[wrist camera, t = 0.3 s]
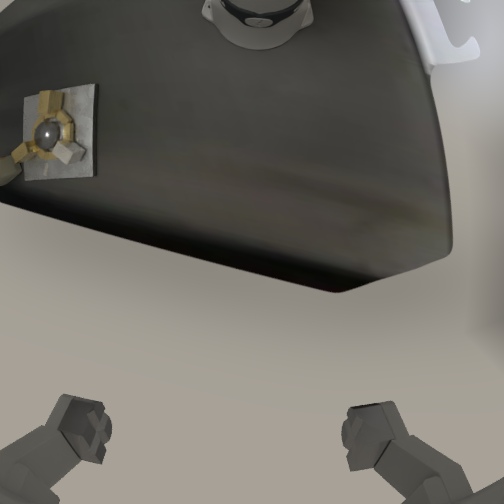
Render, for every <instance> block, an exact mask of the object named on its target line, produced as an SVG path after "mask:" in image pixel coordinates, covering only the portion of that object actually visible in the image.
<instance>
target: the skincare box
mask: <svg viewBox="0 0 504 504" xmlns="http://www.w3.org/2000/svg"><path fill="white" fill-rule="evenodd" d="M20 172H22V169H21V166H20V163H17V164H15V162H14V160H13V157H12V155H10V156H6V157H2V158H0V186H2V185H5V184H7V183H9V182H10V181H11V180H12V179H14V178H15V177H16V176H17V175H18V174H19V173H20Z"/></svg>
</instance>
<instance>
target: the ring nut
mask: <svg viewBox="0 0 504 504" xmlns="http://www.w3.org/2000/svg"><path fill="white" fill-rule="evenodd" d="M62 97H63V92H60V91H52V90H48V91H40V95H39V103H38V112H37V114H41V115H40V116H39V118H38V119H37V121H36V122H35V124H34V125H33V127H34V129H32V141H26V142H23V143H22V144H21V145H20V146H19V147H17V148H16V149H15V150H14V151H13V152H12V153H11V154H12V157H13V160H14V162H15V164H17V163H21V162H25V161H29V160H30V159H31V158H33V157H34V156H35V155H36V154H38V155H39V157H40V158H41V159H44V160H49V159H58V158H59V159H60V160H61V161H62V162H64V163H65V164H66V165H69V164H72V163H76V162H79V161H80V159H81V158H82V156H83V154H84V152H85V150H84V149H83V148H82V147H80V146H79V145H78V144H76V143H75V142H74V141H73V128H74V123H71V122H72V121H73V120H72V119H71V118H70V117H69V116H68V115H67V113H66V112H65V111H64V110H61V105H62ZM54 117H56V118H57V119H58V120H59V121H60V122H61V123H62V124H63V140H61V141H57V143H56V145H55V147H54V149H53V151H50V152H48V150H47V149H40V148H39V147H37V145H36V144H35V141H34V133H35V130H36V128H37V126H38V125H39V124H40V123H42V122H45V121H47V120H48V119H49V118H54Z"/></svg>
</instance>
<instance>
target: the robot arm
mask: <svg viewBox="0 0 504 504" xmlns="http://www.w3.org/2000/svg"><path fill="white" fill-rule="evenodd" d="M209 6H210V8H208V7H209ZM202 16H203V17H204V18H205V19H206V20H208V21H210V22H211V23H213V24H215V25H216V27H217V28H218V29H219V31H220V32H221V34H222V35H223V36H224V37H225V38H226V39H228V40H229V41H230V42H232V43H234V44H236V45H238V46H240V47H243V48H247V49H253V50H264V49H270V48H274V47H277V46H279V45H282V44H283V43H285V42H287V41H288V40H289V39H290V38H291V37H292V36H293V35H294V34H295V33H296V32H297V31H298V30H300V29H302V28H305V27H307V26H309V25H311V24H312V23H313V19H314V18H313V13H312V8H311V3H310V0H206V1H205V3H204V6H203V9H202ZM104 410H105V407H104V405H103V403H102V402H99V401H94V400H89V399H84V398H80V397H76V396H71V395H67V394H63V395H61V396H60V398H59V399H58V401H57V403H56V405H55V407H54V409H53V411H52V413H51V415H50V417H49V418H48V420H47V422H46V424H45V426H42V425H41V426H40V427H38V428H36V429H35V430H33V431H31V432H30V433H28V434H27V435H25V436H24V437H22V438H20V439H18V440H17V441H15V442H13V443H12V444H10V445H8V446H7V447H5V448H3V449H2V450H0V504H59V501H60V499H59V497H58V496H57V495H55V494H54V493H53V492H52V491H51V490H50V488H51V487H52V486H53V485H54V484H56V483H57V482H58V481H59V480H60V479H61V478H62V477H64V476H65V475H66V474H67V473H68V472H69V471H70V470H71V469H73V468H74V467H75V466H76V465H77V464H78V463H79V462H80V461H81V460H85V461H88V462H93V463H97V464H102V461H103V459H104V456H105V453H106V448H105V446H104V444H105V443H107V442H108V441H109V440H110V437H111V434H112V424H111V420H110V418H109V416H108V415H107V414H106V413H104ZM347 416H348V419H347V420H345V421H344V423H343V426H342V434H341V435H342V442H343V446H344V447H345V448H347V449H348V450H349V452H348V454H347V456H346V457H347V461H348V464H349V468H350V471H358V470H364V469H369V468H374V470H375V471H376V472H377V473H378V474H380V475H381V476H382V477H383V478H384V479H385V480H386V481H387V482H388V483H390V485H392V486H393V487H394V488H395V489H396V490H397V491H398V492H399V493H400V494H402V495H403V496H404V497H405V498H406V500H405V501H404V502H403V503H402V504H504V477H503V478H501V479H500V480H498V481H496V482H495V483H493V484H491V485H489V486H487V487H485V488H483V489H482V490H480V491H478V492H476V493H473V491H472V489H471V487H470V484H469V482H468V480H467V478H466V476H465V474H464V471H463V469H462V467H461V465H459V464H457V463H456V462H454V461H453V460H451V459H449V458H448V457H446V456H445V455H443V454H442V453H440V452H438V451H437V450H435V449H434V448H432V447H431V446H429V445H428V444H426V443H425V442H423V441H422V440H420V439H418V438H417V437H415V436H414V435H411V436H409V434H408V431H407V429H406V427H405V425H404V423H403V420H402V418H401V416H400V414H399V412H398V410H397V407H396V405H395V403H394V402H393V401H386V402H381V403H373V404H367V405H360V406H354V407H350V408H349V409H348V412H347Z"/></svg>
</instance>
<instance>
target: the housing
mask: <svg viewBox="0 0 504 504" xmlns="http://www.w3.org/2000/svg"><path fill="white" fill-rule="evenodd" d="M56 91H60V92H63V97H62V105H61V110H64V111H65V112H66V113H67V115H68V116H69V117H70V118H71V119H72V120H73V121H72V122H71V123H74V128H73V141H74V142H75V143H76V144H78V145H79V146H80V147H82V148H83V149H84V150H85V152H84V154H83V156H82V158H81V159H80V161H79V162H76V163H72V164H69V165H66V164H65V163H64V162H62V161H61V160H60V159H59V158H58V159H49V160H44V159H41V158H40V157H39V155H38V154H36V155H35V156H34V157H33V158H31V159H30V160H29V161H25V162H24V175H25V181H28V180H41V179H56V178H75V177H94V176H96V175H97V167H96V125H97V100H98V84H89V85H83V86H77V87H71V88H66V89H61V90H56ZM39 95H40V94H38V95H33V96H29V97H25V98H24V118H23V142H26V141H32V129H34V127H33V125H34V124H35V122H36V121H37V119H38V118H39V116H40V115H41V114H37V112H38V103H39ZM61 140H63V124H62V123H61V122H60V121H59V120H58V119H57V118H56V117H54V118H49V119H48V120H47V121H45V122H42V123H40V124H39V125H38V126H37V128H36V130H35V133H34V141H35V144H36V145H37V147H39V148H40V149H47V150H48V152H50V151H53V149H54V147H55V145H56V143H57V141H61Z"/></svg>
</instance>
